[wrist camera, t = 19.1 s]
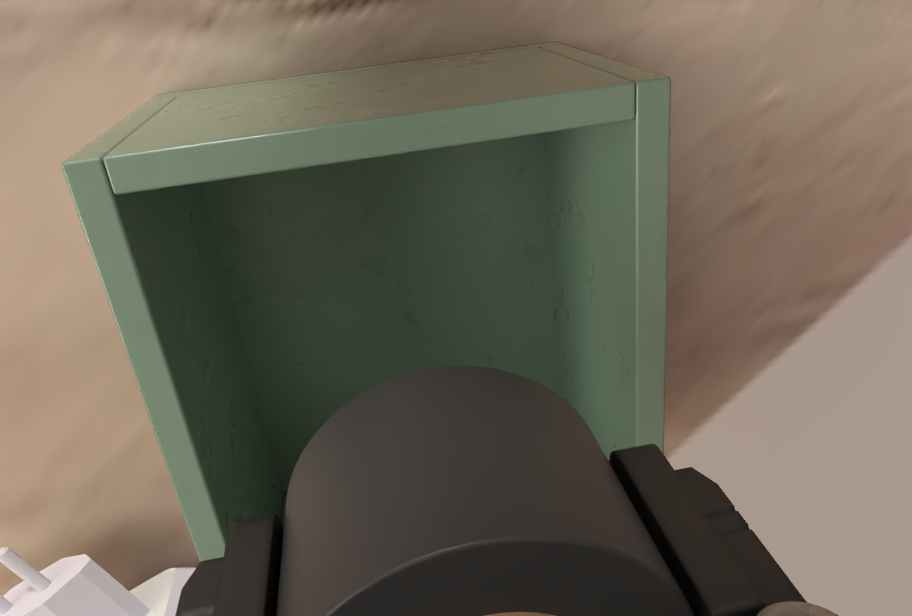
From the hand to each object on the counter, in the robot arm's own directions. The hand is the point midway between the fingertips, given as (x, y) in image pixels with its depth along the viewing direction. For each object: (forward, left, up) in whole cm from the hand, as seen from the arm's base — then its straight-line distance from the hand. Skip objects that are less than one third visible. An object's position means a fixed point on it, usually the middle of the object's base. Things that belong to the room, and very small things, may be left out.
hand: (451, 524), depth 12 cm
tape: (0, 0, 0) cm, 0 cm away
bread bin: (+2, -1, -14) cm, 15 cm away
